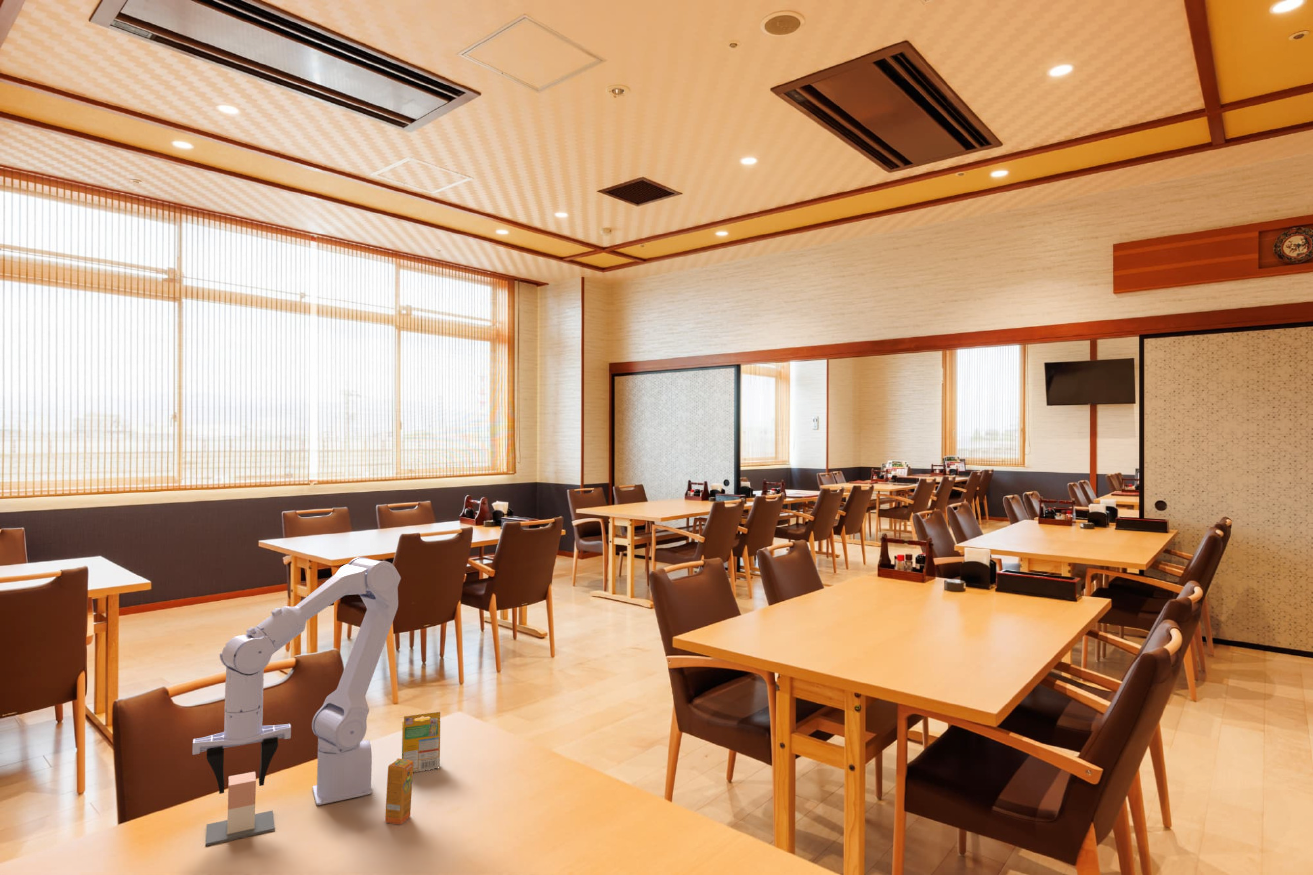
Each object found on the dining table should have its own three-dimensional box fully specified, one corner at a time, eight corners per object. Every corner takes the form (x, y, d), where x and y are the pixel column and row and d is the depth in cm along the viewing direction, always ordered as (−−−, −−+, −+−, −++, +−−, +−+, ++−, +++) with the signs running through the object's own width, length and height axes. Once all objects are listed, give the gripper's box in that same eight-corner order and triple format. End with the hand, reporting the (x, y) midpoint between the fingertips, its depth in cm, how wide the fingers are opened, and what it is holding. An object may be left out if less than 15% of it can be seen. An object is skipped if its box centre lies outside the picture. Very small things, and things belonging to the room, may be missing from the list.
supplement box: (402, 825, 124) (403, 767, 124) (384, 823, 125) (385, 765, 125) (412, 816, 127) (413, 759, 128) (395, 814, 128) (396, 757, 128)
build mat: (272, 812, 128) (272, 810, 128) (274, 830, 122) (274, 828, 122) (206, 826, 123) (206, 824, 123) (205, 846, 117) (205, 843, 117)
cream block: (254, 828, 122) (255, 804, 122) (227, 834, 120) (227, 809, 120) (254, 817, 125) (254, 794, 125) (227, 823, 123) (228, 799, 123)
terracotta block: (254, 794, 126) (255, 771, 126) (255, 804, 122) (255, 780, 122) (228, 799, 124) (228, 776, 124) (227, 809, 120) (228, 785, 120)
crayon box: (438, 763, 149) (439, 707, 150) (439, 769, 147) (441, 711, 147) (401, 768, 146) (402, 711, 147) (402, 774, 144) (403, 716, 144)
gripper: (289, 693, 130) (287, 769, 130) (194, 707, 123) (192, 787, 122) (292, 705, 124) (290, 784, 124) (193, 720, 117) (190, 804, 116)
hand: (241, 787), depth 123 cm, fingers open, 5 cm apart
